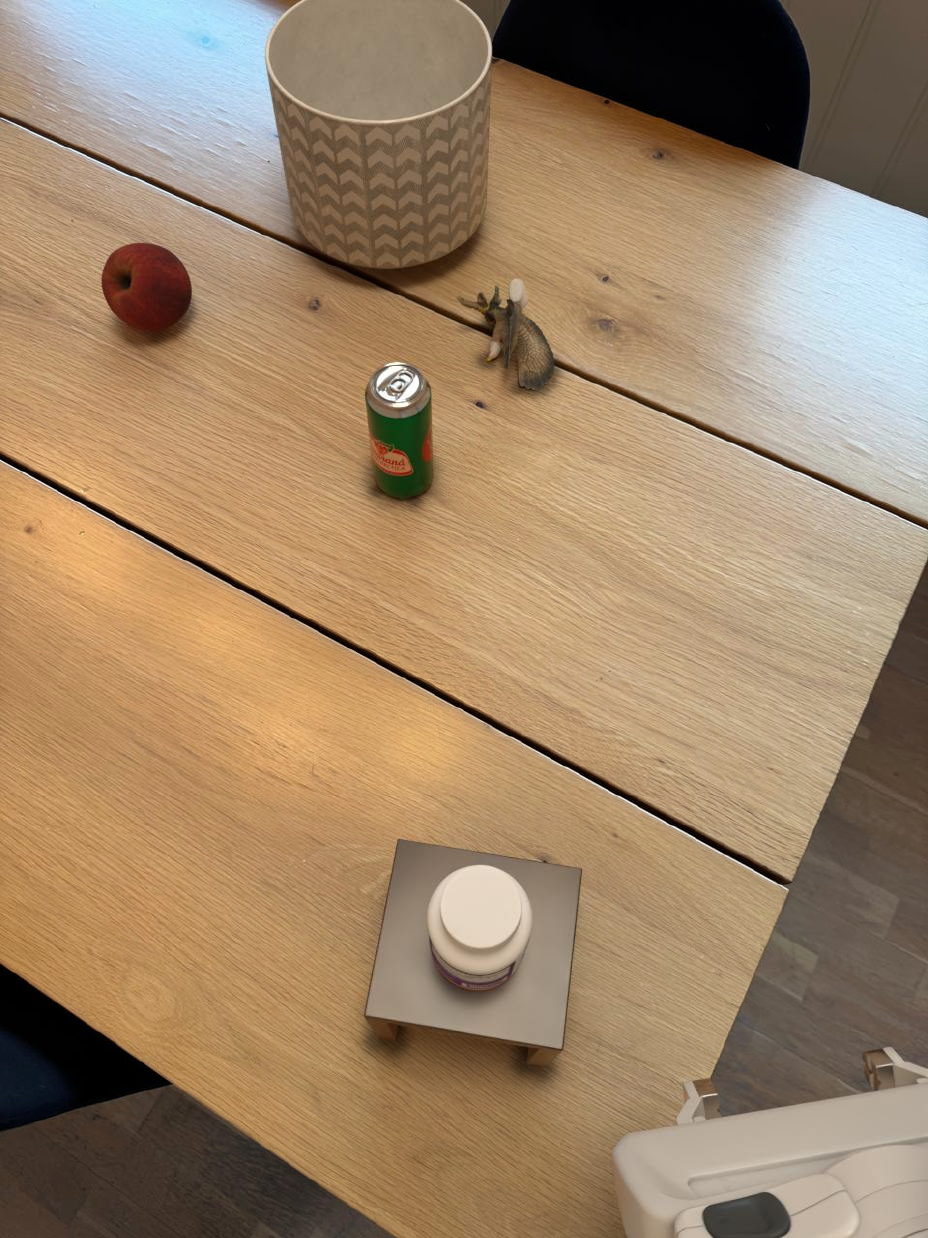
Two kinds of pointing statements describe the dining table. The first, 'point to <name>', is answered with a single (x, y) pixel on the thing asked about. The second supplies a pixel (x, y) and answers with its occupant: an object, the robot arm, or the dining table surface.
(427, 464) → the soda can
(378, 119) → the planter
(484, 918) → the pill bottle
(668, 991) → the dining table surface
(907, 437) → the dining table surface
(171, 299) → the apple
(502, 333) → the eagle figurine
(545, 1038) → the small side table
